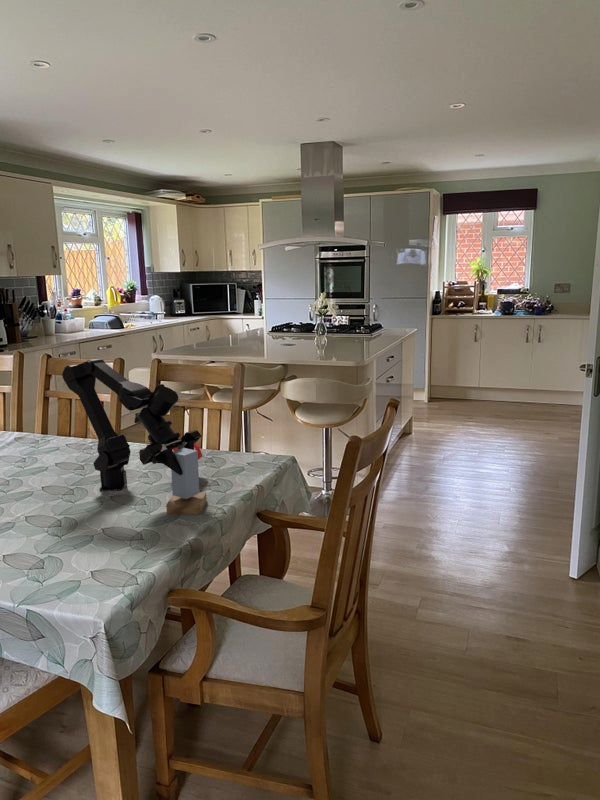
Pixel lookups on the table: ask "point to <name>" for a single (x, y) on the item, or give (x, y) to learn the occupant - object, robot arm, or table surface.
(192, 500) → the pedestal
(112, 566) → the table surface
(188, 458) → the pillar
